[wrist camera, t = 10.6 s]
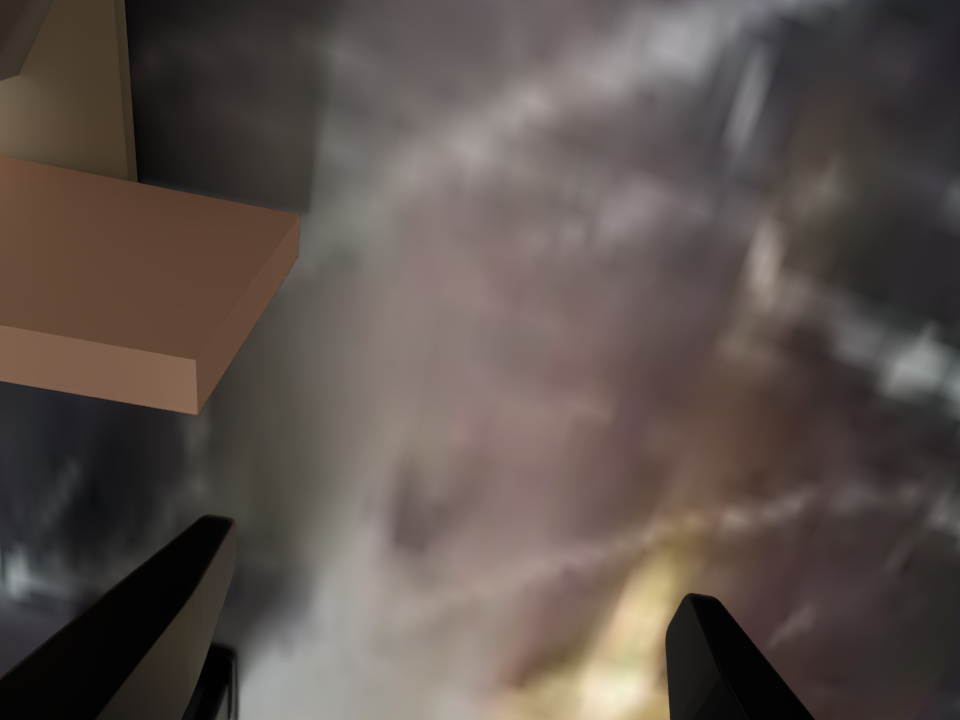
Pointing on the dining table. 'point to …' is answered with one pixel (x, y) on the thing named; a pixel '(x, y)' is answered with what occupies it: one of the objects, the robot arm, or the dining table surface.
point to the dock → (67, 86)
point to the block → (130, 284)
